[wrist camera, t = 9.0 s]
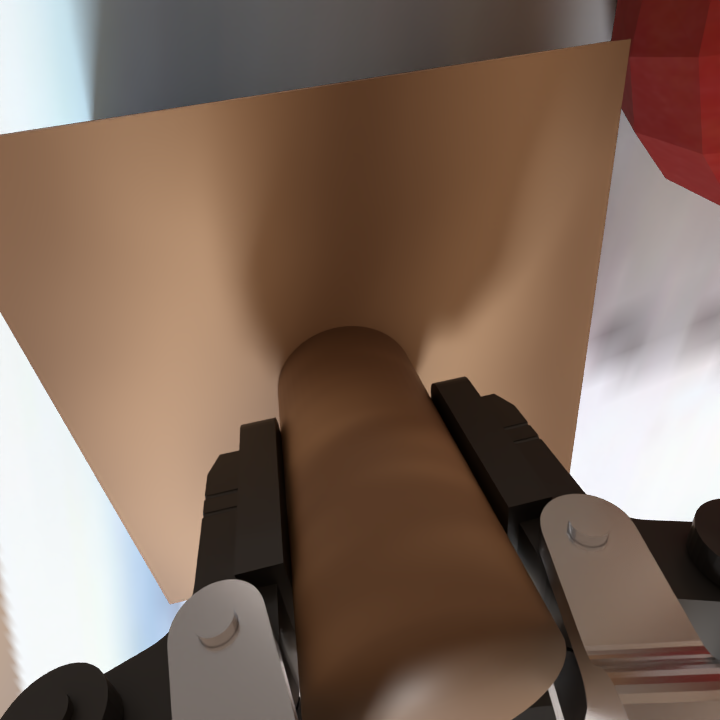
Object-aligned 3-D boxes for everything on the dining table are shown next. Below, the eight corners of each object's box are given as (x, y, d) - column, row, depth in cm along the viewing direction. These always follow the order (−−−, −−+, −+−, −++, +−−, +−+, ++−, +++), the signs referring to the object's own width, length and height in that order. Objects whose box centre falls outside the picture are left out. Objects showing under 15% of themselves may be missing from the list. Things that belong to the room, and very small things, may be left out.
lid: (604, 41, 10) (1331, -39, 3) (552, 488, 17) (749, 758, 10) (-66, 144, 9) (-1155, 362, 2) (173, 580, 15) (112, 960, 9)
